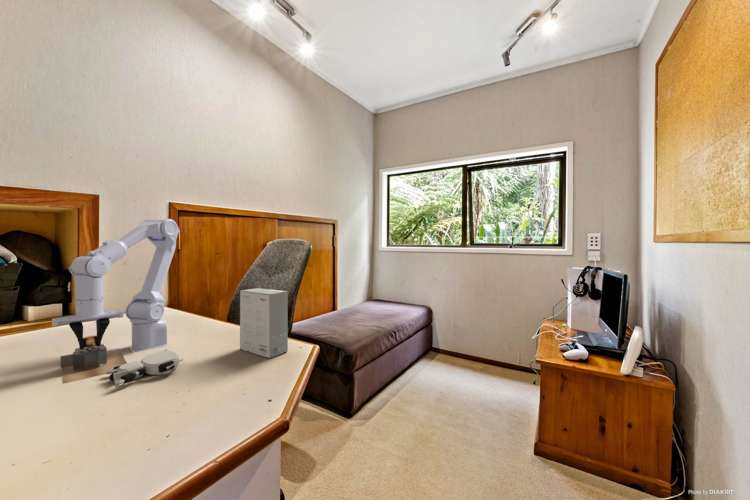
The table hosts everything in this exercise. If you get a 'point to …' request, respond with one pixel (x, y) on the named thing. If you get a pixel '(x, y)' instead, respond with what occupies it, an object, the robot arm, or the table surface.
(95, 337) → the plunger
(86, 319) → the robot arm
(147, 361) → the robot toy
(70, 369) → the walnut board
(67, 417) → the table surface
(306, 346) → the table surface
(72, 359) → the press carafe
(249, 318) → the hard drive box
